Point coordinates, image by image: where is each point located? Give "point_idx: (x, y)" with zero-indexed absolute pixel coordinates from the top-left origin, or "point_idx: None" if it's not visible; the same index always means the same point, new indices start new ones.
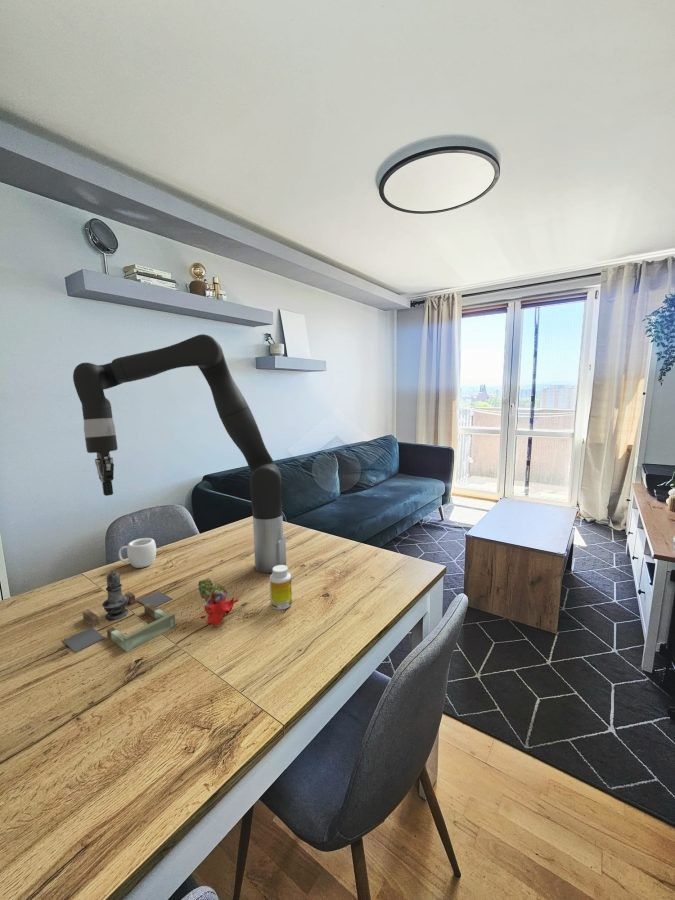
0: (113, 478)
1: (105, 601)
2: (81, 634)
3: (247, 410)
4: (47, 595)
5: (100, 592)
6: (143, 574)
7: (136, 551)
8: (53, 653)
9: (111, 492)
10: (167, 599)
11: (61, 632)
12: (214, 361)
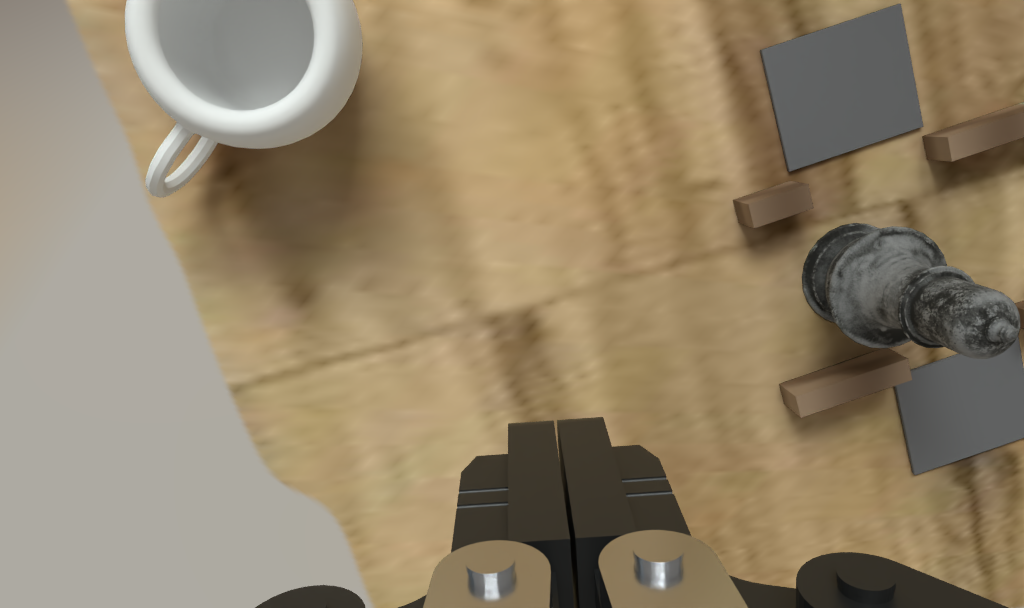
0: (862, 561)
1: (867, 333)
2: (923, 413)
3: None
4: (410, 545)
5: (550, 323)
6: (454, 79)
7: (343, 92)
8: (974, 497)
9: (648, 455)
10: (892, 30)
11: (838, 478)
12: None
